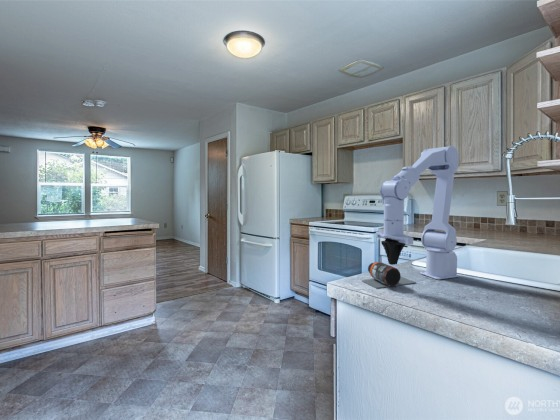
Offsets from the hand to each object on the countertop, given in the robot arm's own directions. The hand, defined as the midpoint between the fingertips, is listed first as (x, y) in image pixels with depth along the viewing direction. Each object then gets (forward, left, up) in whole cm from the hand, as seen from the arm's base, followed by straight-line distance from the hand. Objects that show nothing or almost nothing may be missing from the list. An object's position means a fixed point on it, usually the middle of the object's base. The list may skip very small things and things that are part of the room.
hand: (392, 264), depth 96 cm
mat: (-2, -5, -7) cm, 9 cm away
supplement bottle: (0, 0, -4) cm, 4 cm away
